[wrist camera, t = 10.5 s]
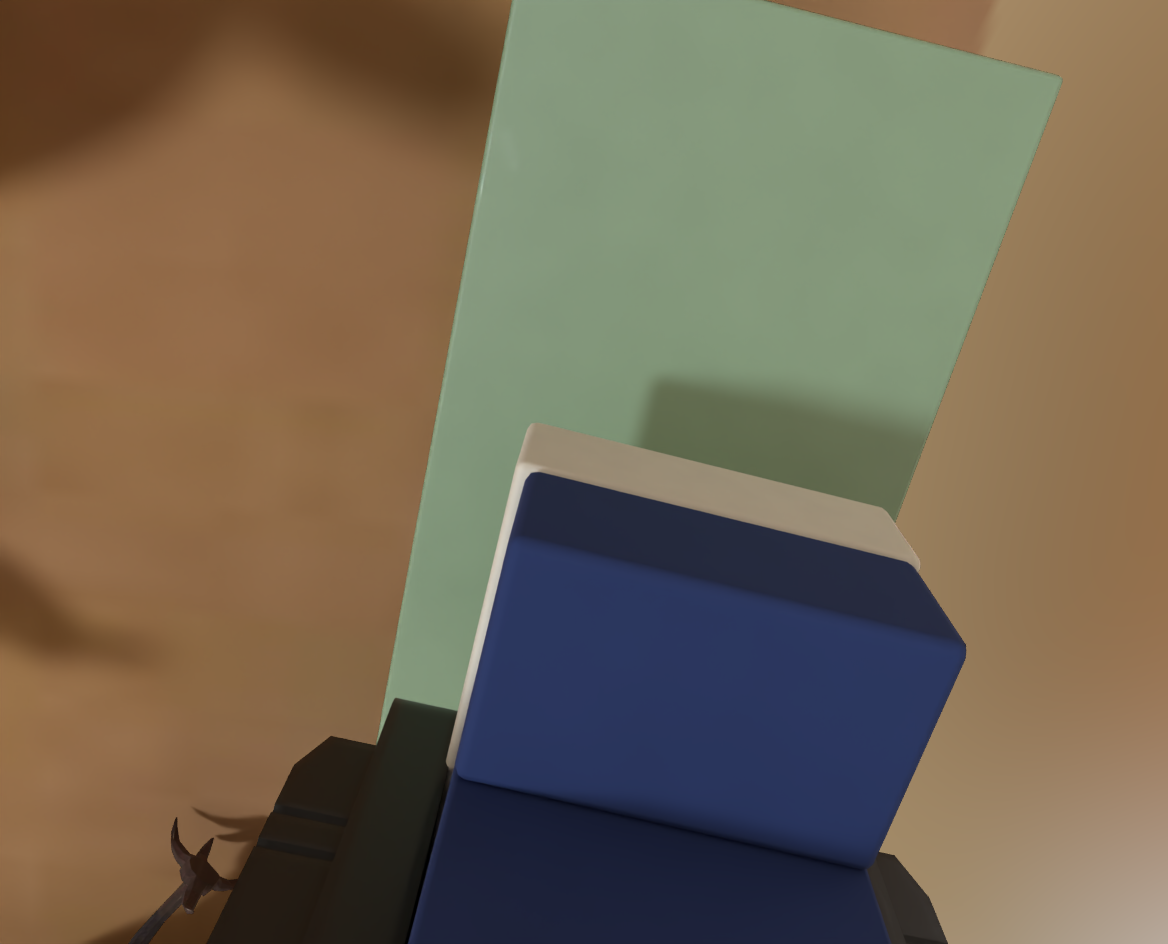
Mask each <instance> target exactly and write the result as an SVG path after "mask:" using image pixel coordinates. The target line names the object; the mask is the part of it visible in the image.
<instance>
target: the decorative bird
mask: <svg viewBox="0 0 1168 944" xmlns="http://www.w3.org/2000/svg"><path fill="white" fill-rule="evenodd" d="M213 840H214V838H211V839H210V840H209V841H208V842H207V843H206V844H205V845H204V846H203V847H202V848H201V849H200V851H199V852H198V853H197V855H196V856H195V855H192V854H190V853H189V852H188V851H187V850H186V848H185V847H184V846H183V845H182V843H181V842H180V840H179V835H178V827H177V817H176V819H175V822H174V825H173V828H172V831H171V849H172V853H173V855H174V857H175V859H176V861H177V862H178V864H179V865H180V866H181V869H180V875H181V880H182V881H183V883H182V884H181V886H180V887H179V888H178V889H177V890H176V891H175V892H174V893H173V894H172V895H171V896H170V897H169V898H168V899H167V900H166V901H165V902H164V904H163V905H162V906H161V907H160V908H159V909H158V910H157V911H156V912H155V913H154V914H153V915H152V916H151V917H150V919H149V920H148V921H147V922H146V923H145V924H144V925H143V926H142V927H141V928H140V929H139V931H138V932H137V933H136V934H135V935H134V937H133V938H132V939H131V941H130V942H129V943H128V944H149V942H150V941H151V939H152V938H153V937H154V935H155V934H156V933H157V931H158V930H159V929H160V927H161V926H162V925H163V923H164V922H165V921H166V920H167V919H168V918H169V917H170V916H171V915H172V914H173V913H174V911H175V910H176V909H177V908H178V907H179V906H180V905H181V904H182V905H183V907H184V909H185V911H186V913H187V914H193V913H194V909H195V907H196V904H197V902H198V900H199V899H200V897H201V895H203V896H204V895H206V894H207V893H208V892H210V891H211V890H214V891H227V890H232V889H233V888H234V886H235V884H236V882H237V880H238V879H235V880H227V879H224V878H222V877H220V876H219V874H218V873H217V872H216V871H215V870H214V869H213V867H212V866H211V865H210V864H209V863H208V862H207V858H208V855H209V853H210V850H211V846H212V843H213Z"/></svg>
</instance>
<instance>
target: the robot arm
mask: <svg viewBox="0 0 1168 944" xmlns="http://www.w3.org/2000/svg"><path fill="white" fill-rule="evenodd" d="M457 712H458V711H456V710H452V709H447V708H442V707H437V706H433V705H428V704H423V703H419V702H414V701H409V700H405V699H400V698H395V699H394V700H393V702H392V705H391V707H390V710H389V713H388V715H387V718H386V721H385V723H384V726H383V729H382V732H381V734H380V737H379V740H378V742H377V745H371V744H367V743H362V742H357V741H352V740H347V739H343V738H338V737H333V736H330V737H329V738H328V739H327V740H325V741H324V742H323V743H321V744H320V745H319V746H318V747H316V748H315V749H314V750H312V751H311V752H310V753H309V754H307V755H306V756H305V757H304V758H302V759H301V760H300V761H298V762H297V763H296V764H295V765H294V766H293V768H292V770H291V772H290V774H289V776H288V778H287V781H286V783H285V785H284V787H283V789H282V791H281V793H280V795H279V797H278V799H277V801H276V803H275V806H274V810H273V812H271V813H270V815H269V817H268V819H267V821H266V823H265V825H264V827H263V829H262V831H261V833H260V836H259V838H258V842H257V845H256V847H255V846H254V848H253V850H252V852H251V854H250V856H249V858H248V860H247V862H246V864H245V866H244V868H243V870H242V872H241V874H240V876H239V878H238V880H237V882H236V884H235V886H234V888H233V891H232V893H231V895H230V897H229V899H228V901H227V903H226V905H225V907H224V909H223V911H222V913H221V915H220V917H219V919H218V921H217V923H216V925H215V927H214V929H213V931H212V933H211V935H210V937H209V939H208V941H207V943H206V944H408V942H409V938H410V934H411V930H412V927H413V923H414V919H415V915H416V911H417V907H418V902H419V898H420V893H421V889H422V884H423V880H424V875H425V871H426V866H427V862H428V857H429V853H430V848H431V844H432V839H433V835H434V831H435V826H436V822H437V817H438V813H439V808H440V804H441V799H442V795H443V790H444V786H445V781H446V777H447V772H448V768H449V767H448V766H447V764H446V758H447V754H448V750H449V746H450V741H451V737H452V733H453V729H454V724H455V720H456V716H457ZM867 871H868V874H869V878H870V881H871V884H872V887H873V890H874V893H875V896H876V899H877V902H878V905H879V908H880V911H881V914H882V917H883V920H884V923H885V926H886V929H887V932H888V935H889V938H890V941H891V944H948V942H947V940H946V938H945V935H944V933H943V930H942V928H941V926H940V923H939V921H938V918H937V916H936V913H935V911H934V908H933V906H932V903H931V901H930V899H929V897H928V896H927V895H926V893H925V892H924V891H923V890H922V889H921V887H920V886H919V885H918V884H917V882H916V881H915V880H914V879H913V877H912V876H911V875H910V874H909V873H908V871H907V870H906V869H905V868H904V867H903V865H902V864H901V863H900V862H899V861H898V859H897V858H896V857H895V856H894V855H890V854H886V853H881V852H878V855H877V857H876V859H875V861H874V864H873V865H872V866H871V867H870V868H869V869H867Z"/></svg>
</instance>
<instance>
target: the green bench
mask: <svg viewBox="0 0 1168 944" xmlns="http://www.w3.org/2000/svg"><path fill="white" fill-rule="evenodd" d="M1061 84H1062V78H1061V77H1060V76H1059V75H1055V74H1052V73H1048V72H1044V71H1040V70H1036V69H1033V68H1029V67H1025V66H1021V65H1017V64H1013V63H1009V62H1005V61H1001V60H997V59H993V58H989V57H986V56H982V55H978V54H974V53H970V52H966V51H962V50H958V49H954V48H950V47H946V46H943V45H939V44H935V43H931V42H927V41H923V40H919V39H915V38H911V37H907V36H903V35H900V34H896V33H892V32H888V31H884V30H880V29H876V28H872V27H868V26H864V25H860V24H857V23H853V22H849V21H845V20H841V19H837V18H833V17H829V16H825V15H821V14H817V13H814V12H810V11H806V10H802V9H798V8H794V7H790V6H786V5H782V4H778V3H774V2H770V1H767V0H512V3H511V8H510V14H509V19H508V25H507V30H506V36H505V41H504V47H503V52H502V58H501V63H500V69H499V74H498V80H497V85H496V91H495V96H494V102H493V107H492V113H491V118H490V124H489V129H488V134H487V140H486V145H485V151H484V156H483V162H482V167H481V173H480V178H479V184H478V189H477V195H476V200H475V206H474V211H473V217H472V222H471V228H470V233H469V239H468V244H467V249H466V255H465V260H464V266H463V271H462V277H461V282H460V288H459V293H458V299H457V304H456V310H455V315H454V321H453V326H452V332H451V337H450V343H449V348H448V354H447V359H446V364H445V370H444V375H443V381H442V386H441V392H440V397H439V403H438V408H437V414H436V419H435V425H434V430H433V436H432V441H431V447H430V452H429V458H428V463H427V469H426V474H425V480H424V485H423V490H422V496H421V501H420V507H419V512H418V518H417V523H416V529H415V534H414V540H413V545H412V551H411V556H410V562H409V567H408V573H407V578H406V584H405V589H404V595H403V600H402V605H401V611H400V616H399V622H398V627H397V633H396V638H395V644H394V649H393V655H392V660H391V666H390V671H389V677H388V682H387V688H386V693H385V699H384V704H383V710H382V715H381V721H380V726H379V731H378V737H377V742H378V740H379V737H380V734H381V732H382V729H383V726H384V723H385V721H386V718H387V715H388V713H389V710H390V707H391V705H392V702H393V700H394V699H395V698H400V699H405V700H409V701H414V702H419V703H423V704H428V705H433V706H437V707H442V708H447V709H452V710H456V711H458V708H459V703H460V699H461V695H462V691H463V686H464V682H465V678H466V674H467V670H468V665H469V661H470V657H471V653H472V649H473V644H474V640H475V636H476V632H477V627H478V623H479V619H480V615H481V611H482V606H483V602H484V598H485V594H486V589H487V585H488V581H489V577H490V573H491V568H492V564H493V560H494V556H495V551H496V547H497V543H498V539H499V535H500V530H501V526H502V522H503V518H504V513H505V509H506V505H507V501H508V497H509V492H510V488H511V484H512V480H513V476H514V471H515V467H516V464H517V461H518V458H519V454H520V451H521V448H522V445H523V441H524V438H525V435H526V432H527V429H528V427H529V426H530V425H531V424H532V423H542V424H546V425H550V426H554V427H558V428H562V429H566V430H570V431H574V432H578V433H583V434H587V435H591V436H595V437H599V438H603V439H607V440H611V441H615V442H619V443H623V444H627V445H631V446H635V447H639V448H643V449H647V450H651V451H655V452H659V453H663V454H667V455H671V456H675V457H679V458H683V459H687V460H692V461H696V462H700V463H704V464H708V465H712V466H716V467H720V468H724V469H728V470H732V471H736V472H740V473H744V474H748V475H752V476H756V477H760V478H764V479H768V480H772V481H776V482H780V483H784V484H788V485H792V486H797V487H801V488H805V489H809V490H813V491H817V492H821V493H825V494H829V495H833V496H837V497H841V498H845V499H849V500H853V501H857V502H861V503H865V504H869V505H873V506H877V507H881V508H883V509H884V510H885V511H887V513H888V514H889V515H890V517H891V518H892V520H893V521H894V523H895V522H896V519H897V517H898V514H899V511H900V509H901V506H902V503H903V501H904V498H905V495H906V493H907V490H908V488H909V485H910V482H911V480H912V477H913V474H914V472H915V469H916V466H917V464H918V461H919V458H920V456H921V453H922V450H923V448H924V445H925V443H926V440H927V438H928V435H929V432H930V429H931V427H932V424H933V422H934V419H935V416H936V414H937V411H938V409H939V406H940V403H941V400H942V398H943V395H944V393H945V390H946V388H947V385H948V382H949V380H950V377H951V374H952V372H953V369H954V366H955V364H956V361H957V358H958V356H959V353H960V351H961V348H962V345H963V343H964V340H965V337H966V335H967V332H968V330H969V327H970V324H971V322H972V319H973V316H974V314H975V311H976V309H977V306H978V303H979V301H980V298H981V295H982V293H983V290H984V287H985V285H986V282H987V280H988V277H989V274H990V272H991V269H992V266H993V264H994V261H995V258H996V256H997V253H998V251H999V248H1000V245H1001V243H1002V240H1003V237H1004V235H1005V232H1006V230H1007V227H1008V224H1009V222H1010V219H1011V216H1012V214H1013V211H1014V208H1015V206H1016V203H1017V200H1018V198H1019V195H1020V193H1021V190H1022V187H1023V185H1024V182H1025V179H1026V177H1027V174H1028V171H1029V169H1030V166H1031V164H1032V161H1033V158H1034V156H1035V153H1036V150H1037V148H1038V145H1039V142H1040V140H1041V137H1042V135H1043V132H1044V129H1045V127H1046V124H1047V122H1048V119H1049V116H1050V114H1051V111H1052V108H1053V106H1054V103H1055V100H1056V98H1057V95H1058V93H1059V90H1060V87H1061ZM377 742H376V745H377Z"/></svg>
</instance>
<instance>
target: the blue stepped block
mask: <svg viewBox="0 0 1168 944" xmlns="http://www.w3.org/2000/svg"><path fill="white" fill-rule="evenodd" d="M919 569H920V559H919V557H918V556H917V555H916V553H915V552H914V550H913V549H912V547H911V546H910V544H909V543H908V542H907V540H906V539H905V537H904V536H903V534H902V533H901V531H900V530H899V529H898V527H897V526H896V524H895V523H894V521H893V520H892V518H891V517H890V515H889V514H888V513H887V511H885V510H884V509H883V508H881V507H877V506H873V505H869V504H865V503H861V502H857V501H853V500H849V499H845V498H841V497H837V496H833V495H829V494H825V493H821V492H817V491H813V490H809V489H805V488H801V487H797V486H792V485H788V484H784V483H780V482H776V481H772V480H768V479H764V478H760V477H756V476H752V475H748V474H744V473H740V472H736V471H732V470H728V469H724V468H720V467H716V466H712V465H708V464H704V463H700V462H696V461H692V460H687V459H683V458H679V457H675V456H671V455H667V454H663V453H659V452H655V451H651V450H647V449H643V448H639V447H635V446H631V445H627V444H623V443H619V442H615V441H611V440H607V439H603V438H599V437H595V436H591V435H587V434H583V433H578V432H574V431H570V430H566V429H562V428H558V427H554V426H550V425H546V424H542V423H532V424H531V425H530V426H529V427H528V429H527V432H526V435H525V438H524V441H523V445H522V448H521V451H520V454H519V458H518V461H517V464H516V467H515V471H514V476H513V480H512V484H511V488H510V492H509V497H508V501H507V505H506V509H505V513H504V518H503V522H502V526H501V530H500V535H499V539H498V543H497V547H496V551H495V556H494V560H493V564H492V568H491V573H490V577H489V581H488V585H487V589H486V594H485V598H484V602H483V606H482V611H481V615H480V619H479V623H478V627H477V632H476V636H475V640H474V644H473V649H472V653H471V657H470V661H469V665H468V670H467V674H466V678H465V682H464V686H463V691H462V695H461V699H460V703H459V708H458V712H457V716H456V720H455V724H454V729H453V733H452V737H451V741H450V746H449V750H448V754H447V758H446V764H447V766H448V767H449V768H448V772H447V777H446V781H445V786H444V790H443V795H442V799H441V804H440V808H439V813H438V817H437V822H436V826H435V831H434V835H433V839H432V844H431V848H430V853H429V857H428V862H427V866H426V871H425V875H424V880H423V884H422V889H421V893H420V898H419V902H418V907H417V911H416V915H415V919H414V923H413V927H412V930H411V934H410V938H409V942H408V944H891V941H890V938H889V935H888V932H887V929H886V926H885V923H884V920H883V917H882V914H881V911H880V908H879V905H878V902H877V899H876V896H875V893H874V890H873V887H872V884H871V881H870V878H869V874H868V871H867V869H869V868H870V867H871V866H872V865H873V864H874V861H875V859H876V857H877V855H878V852H879V850H880V848H881V846H882V843H883V841H884V839H885V837H886V835H887V832H888V830H889V828H890V826H891V823H892V821H893V819H894V817H895V815H896V812H897V810H898V808H899V806H900V803H901V801H902V799H903V797H904V794H905V792H906V790H907V788H908V786H909V783H910V781H911V779H912V776H913V774H914V772H915V770H916V767H917V765H918V763H919V761H920V759H921V757H922V754H923V752H924V750H925V748H926V745H927V743H928V741H929V739H930V737H931V734H932V732H933V730H934V728H935V725H936V723H937V721H938V719H939V717H940V714H941V712H942V710H943V708H944V705H945V703H946V701H947V699H948V696H949V694H950V692H951V690H952V688H953V685H954V683H955V681H956V679H957V676H958V674H959V672H960V670H961V668H962V665H963V663H964V661H965V658H966V644H965V643H964V641H963V640H962V638H961V637H960V635H959V634H958V632H957V631H956V629H955V628H954V626H953V625H952V623H951V622H950V620H949V619H948V617H947V616H946V614H945V613H944V611H943V610H942V608H941V607H940V605H939V604H938V602H937V601H936V599H935V598H934V596H933V595H932V594H931V592H930V590H929V589H928V587H927V586H926V584H925V583H924V581H923V580H922V578H921V577H920V575H919V574H918V572H919Z"/></svg>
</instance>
